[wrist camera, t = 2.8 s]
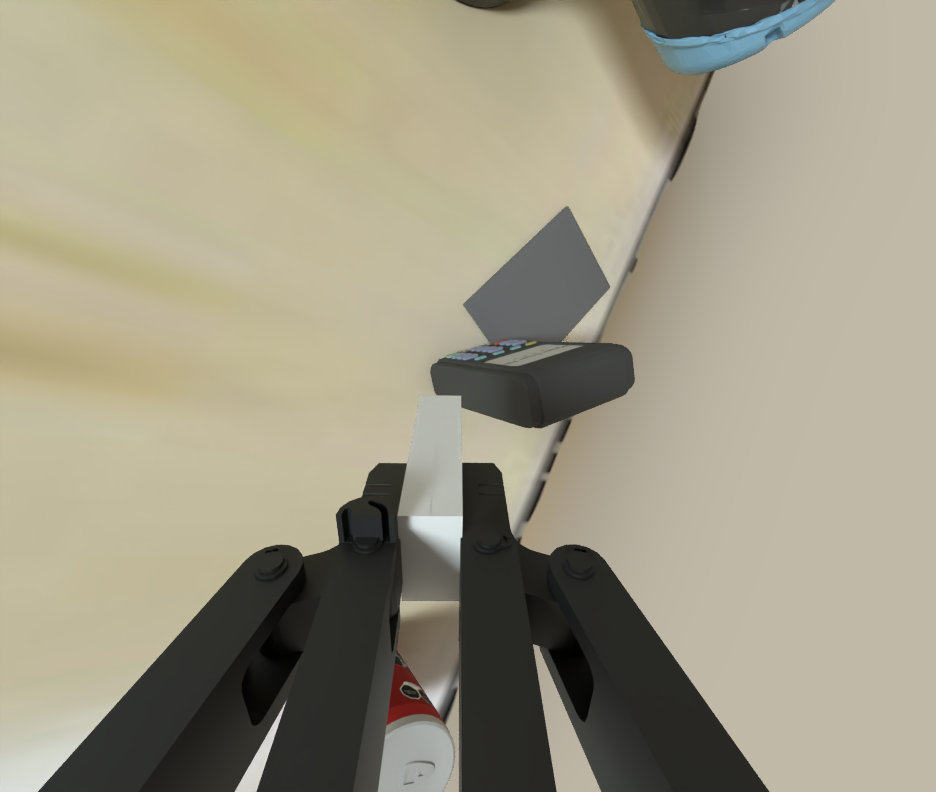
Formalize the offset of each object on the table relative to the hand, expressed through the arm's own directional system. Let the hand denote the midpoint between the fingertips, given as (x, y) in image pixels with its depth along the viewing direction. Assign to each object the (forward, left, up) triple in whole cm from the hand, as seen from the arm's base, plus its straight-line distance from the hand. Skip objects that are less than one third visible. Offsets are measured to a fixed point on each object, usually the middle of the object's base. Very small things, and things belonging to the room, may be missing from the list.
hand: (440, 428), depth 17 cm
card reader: (-12, +8, -21) cm, 25 cm away
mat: (-23, +8, -21) cm, 32 cm away
